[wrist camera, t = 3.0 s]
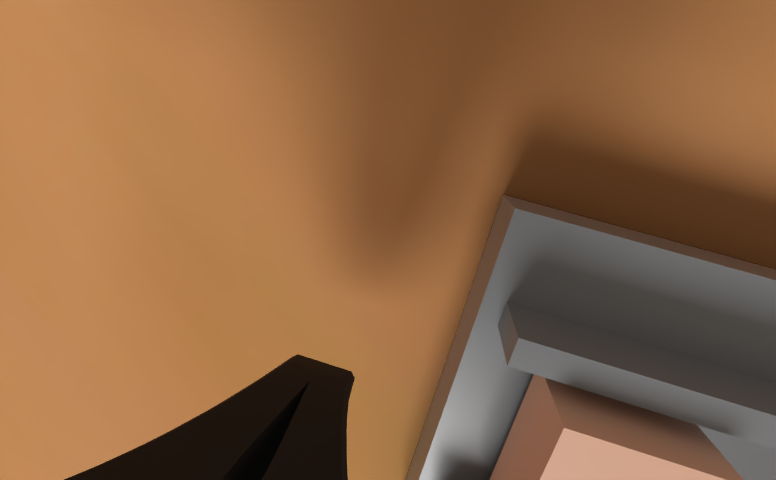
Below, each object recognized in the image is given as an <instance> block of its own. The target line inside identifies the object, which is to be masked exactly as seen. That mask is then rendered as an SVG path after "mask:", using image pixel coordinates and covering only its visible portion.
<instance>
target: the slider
mask: <svg viewBox="0 0 776 480" xmlns="http://www.w3.org/2000/svg"><path fill="white" fill-rule="evenodd" d="M490 480H744V479H743V478H742V477H741V476H740V475H739V474H738V472H737V471H736V470H735V469H734V468H733V466H732V465H731V464H730V463H729V462H728V461H727V459H726V458H725V457H724V456H723V455H722V454H721V452H720V451H719V450H718V449H717V448H716V447H715V445H714V444H713V443H712V442H711V441H710V439H709V438H708V437H707V436H706V435H705V434H704V432H703V431H702V430H701V429H700V428H699V427H698V425H696V424H693V423H689V422H686V421H683V420H680V419H676V418H673V417H670V416H667V415H664V414H660V413H657V412H654V411H651V410H647V409H644V408H641V407H638V406H635V405H631V404H628V403H625V402H622V401H618V400H615V399H612V398H609V397H606V396H602V395H599V394H596V393H593V392H589V391H586V390H583V389H580V388H577V387H573V386H570V385H567V384H564V383H560V382H557V381H554V380H551V379H548V378H544V377H541V376H538V375H535V374H534V375H533V377H532V380H531V382H530V385H529V387H528V389H527V392H526V394H525V397H524V399H523V401H522V404H521V406H520V408H519V411H518V413H517V416H516V418H515V420H514V423H513V425H512V427H511V430H510V432H509V435H508V437H507V439H506V442H505V444H504V446H503V449H502V451H501V454H500V456H499V458H498V461H497V463H496V466H495V468H494V470H493V473H492V475H491V477H490Z"/></svg>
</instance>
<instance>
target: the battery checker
mask: <svg viewBox="0 0 776 480" xmlns="http://www.w3.org/2000/svg"><path fill="white" fill-rule="evenodd" d="M534 374H535V375H538V376H541V377H544V378H548V379H551V380H554V381H557V382H560V383H564V384H567V385H570V386H573V387H577V388H580V389H583V390H586V391H589V392H593V393H596V394H599V395H602V396H606V397H609V398H612V399H615V400H618V401H622V402H625V403H628V404H631V405H635V406H638V407H641V408H644V409H647V410H651V411H654V412H657V413H660V414H664V415H667V416H670V417H673V418H676V419H680V420H683V421H686V422H689V423H693V424H696V425H698V427H699V428H700V429H701V430H702V431H703V432H704V434H705V435H706V436H707V437H708V438H709V439H710V441H711V442H712V443H713V444H714V445H715V447H716V448H717V449H718V450H719V451H720V452H721V454H722V455H723V456H724V457H725V458H726V459H727V461H728V462H729V463H730V464H731V465H732V466H733V468H734V469H735V470H736V471H737V472H738V474H739V475H740V476H741V477H742V478H743V479H744V480H776V269H772V268H769V267H765V266H762V265H758V264H754V263H751V262H747V261H743V260H740V259H736V258H732V257H729V256H725V255H721V254H718V253H714V252H711V251H707V250H703V249H700V248H696V247H692V246H689V245H685V244H681V243H678V242H674V241H670V240H667V239H663V238H660V237H656V236H652V235H649V234H645V233H641V232H638V231H634V230H630V229H627V228H623V227H619V226H616V225H612V224H609V223H605V222H601V221H598V220H594V219H590V218H587V217H583V216H579V215H576V214H572V213H568V212H565V211H561V210H558V209H554V208H550V207H547V206H543V205H539V204H536V203H532V202H528V201H525V200H521V199H517V198H514V197H510V196H506V195H503V196H502V199H501V202H500V205H499V207H498V210H497V213H496V216H495V219H494V222H493V225H492V228H491V231H490V234H489V237H488V240H487V243H486V246H485V248H484V251H483V254H482V257H481V260H480V263H479V266H478V269H477V272H476V275H475V278H474V281H473V284H472V287H471V289H470V292H469V295H468V298H467V301H466V304H465V307H464V310H463V313H462V316H461V319H460V322H459V325H458V328H457V330H456V333H455V336H454V339H453V342H452V345H451V348H450V351H449V354H448V357H447V360H446V363H445V366H444V369H443V371H442V374H441V377H440V380H439V383H438V386H437V389H436V392H435V395H434V398H433V401H432V404H431V407H430V410H429V412H428V415H427V418H426V421H425V424H424V427H423V430H422V433H421V436H420V439H419V442H418V445H417V448H416V451H415V454H414V456H413V459H412V462H411V465H410V468H409V471H408V474H407V477H406V480H490V477H491V475H492V473H493V470H494V468H495V466H496V463H497V461H498V458H499V456H500V454H501V451H502V449H503V446H504V444H505V442H506V439H507V437H508V435H509V432H510V430H511V427H512V425H513V423H514V420H515V418H516V416H517V413H518V411H519V408H520V406H521V404H522V401H523V399H524V397H525V394H526V392H527V389H528V387H529V385H530V382H531V380H532V377H533V375H534Z"/></svg>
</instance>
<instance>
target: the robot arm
mask: <svg viewBox="0 0 776 480" xmlns="http://www.w3.org/2000/svg"><path fill="white" fill-rule="evenodd" d="M353 382H354V376H353V374H352V372H351V371H348V370H345V369H342V368H339V367H335V366H332V365H329V364H326V363H323V362H320V361H317V360H314V359H311V358H307V357H304V356H301V355H295V356H293V357H292V358H290V359H289V360H287V361H286V362H284V363H283V364H281V365H280V366H278V367H277V368H275V369H274V370H272V371H271V372H269V373H268V374H266V375H265V376H263V377H262V378H260V379H259V380H257V381H256V382H254V383H252V384H251V385H249V386H248V387H246V388H244V389H243V390H241V391H240V392H238V393H236V394H235V395H233V396H231V397H230V398H228V399H226V400H225V401H223V402H222V403H220V404H218V405H216V406H215V407H213V408H211V409H210V410H208V411H206V412H204V413H202V414H200V415H199V416H197V417H195V418H193V419H191V420H190V421H188V422H186V423H184V424H182V425H180V426H179V427H177V428H175V429H173V430H171V431H169V432H167V433H165V434H164V435H162V436H160V437H158V438H156V439H154V440H152V441H150V442H148V443H146V444H143V445H141V446H139V447H137V448H135V449H133V450H131V451H129V452H127V453H124V454H122V455H120V456H118V457H116V458H114V459H111V460H109V461H107V462H105V463H103V464H100V465H98V466H96V467H94V468H91V469H89V470H86V471H84V472H82V473H79V474H77V475H74V476H72V477H69V478H67V479H64V480H348V477H347V437H346V429H347V412H348V402H349V397H350V393H351V390H352V386H353Z"/></svg>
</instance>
